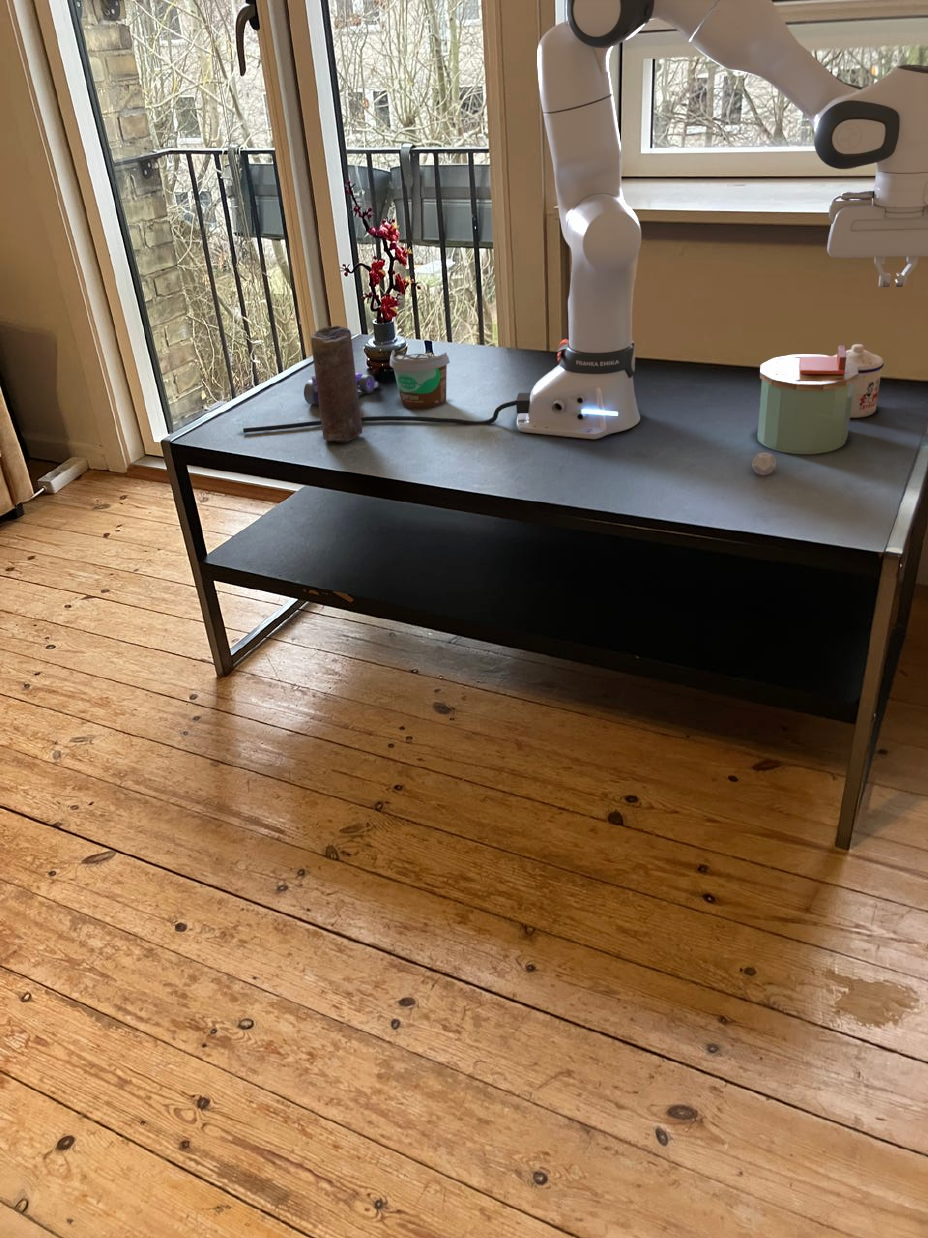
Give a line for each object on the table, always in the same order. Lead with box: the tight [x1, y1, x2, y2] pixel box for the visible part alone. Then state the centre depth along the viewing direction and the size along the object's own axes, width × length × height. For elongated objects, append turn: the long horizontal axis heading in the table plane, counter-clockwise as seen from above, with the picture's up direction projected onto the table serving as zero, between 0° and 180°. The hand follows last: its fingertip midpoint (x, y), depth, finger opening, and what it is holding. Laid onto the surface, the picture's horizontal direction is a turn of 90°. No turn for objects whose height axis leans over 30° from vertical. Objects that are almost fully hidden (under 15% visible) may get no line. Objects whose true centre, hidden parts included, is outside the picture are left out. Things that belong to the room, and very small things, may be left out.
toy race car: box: [303, 372, 379, 406], centre depth 205 cm, size 10×15×6 cm, turn 152°
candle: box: [310, 325, 363, 443], centre depth 182 cm, size 8×7×20 cm
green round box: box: [756, 374, 855, 455], centre depth 168 cm, size 14×14×11 cm
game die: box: [751, 451, 777, 476], centre depth 160 cm, size 4×4×3 cm
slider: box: [799, 345, 847, 374], centre depth 163 cm, size 7×7×3 cm
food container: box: [389, 349, 450, 410], centre depth 197 cm, size 12×6×10 cm, turn 68°
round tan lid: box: [759, 353, 859, 390], centre depth 165 cm, size 15×15×1 cm
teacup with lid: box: [831, 343, 885, 419], centre depth 178 cm, size 12×9×12 cm
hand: (892, 285), depth 155 cm, fingers closed
